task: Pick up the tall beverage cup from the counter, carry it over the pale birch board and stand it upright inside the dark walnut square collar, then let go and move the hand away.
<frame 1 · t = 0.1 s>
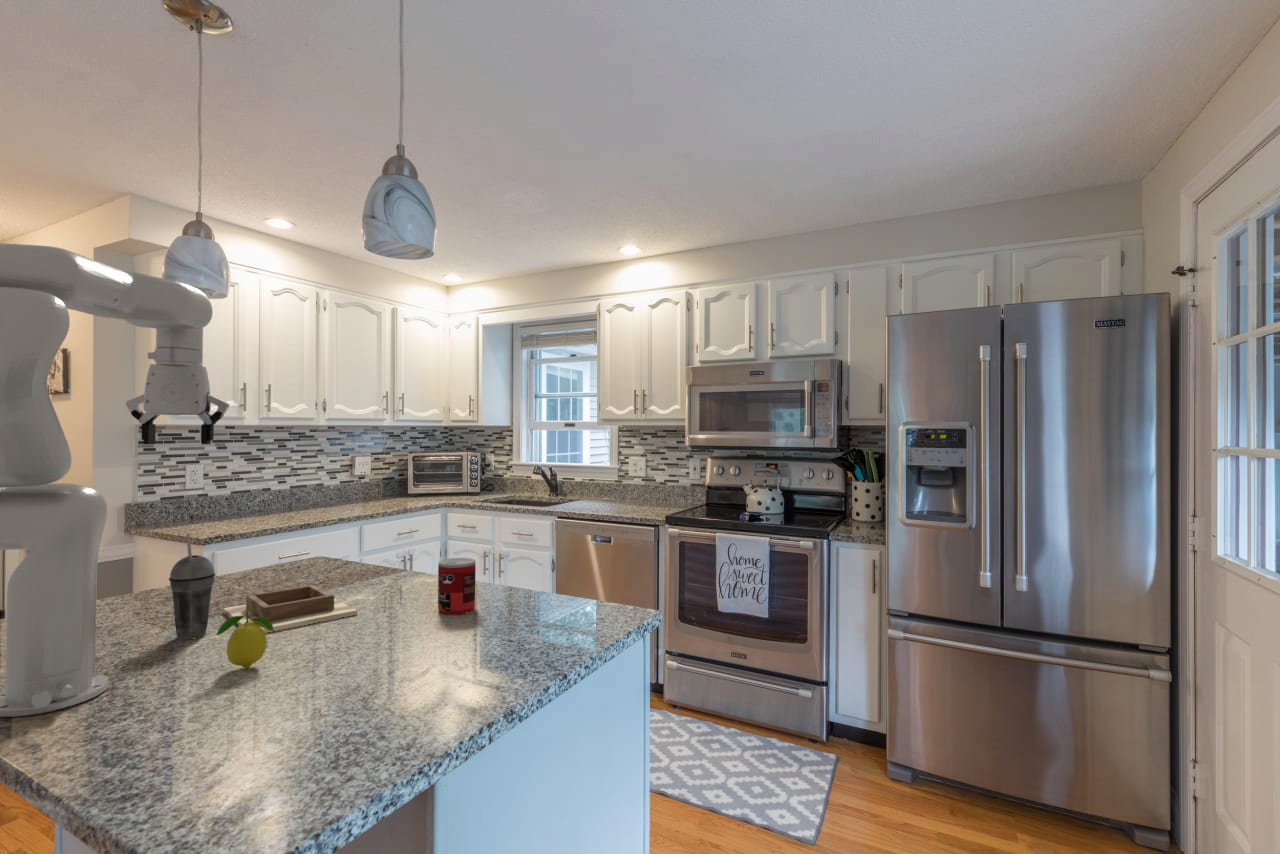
hand: (178, 444, 121), 37 cm above the counter, tool pointing down, fingers open, 9 cm apart
beverage cup: (191, 637, 116), on the counter
canned food: (456, 611, 135), on the counter
cup holder: (290, 613, 132), on the counter
lemon: (245, 670, 101), on the counter
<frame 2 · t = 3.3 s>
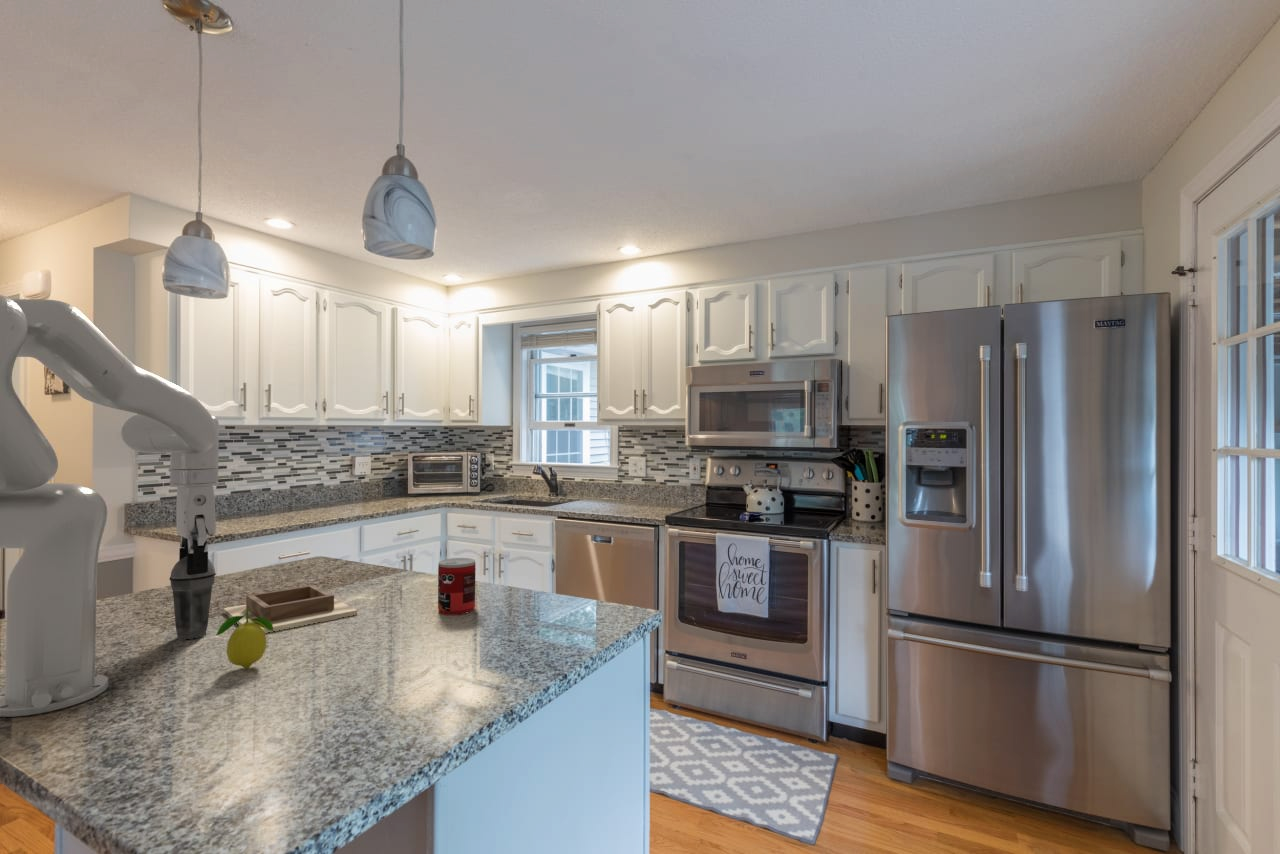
hand: (193, 569, 117), 13 cm above the counter, tool pointing down, fingers closed on beverage cup, 6 cm apart
beverage cup: (191, 637, 116), on the counter, touching gripper
everything else where it was.
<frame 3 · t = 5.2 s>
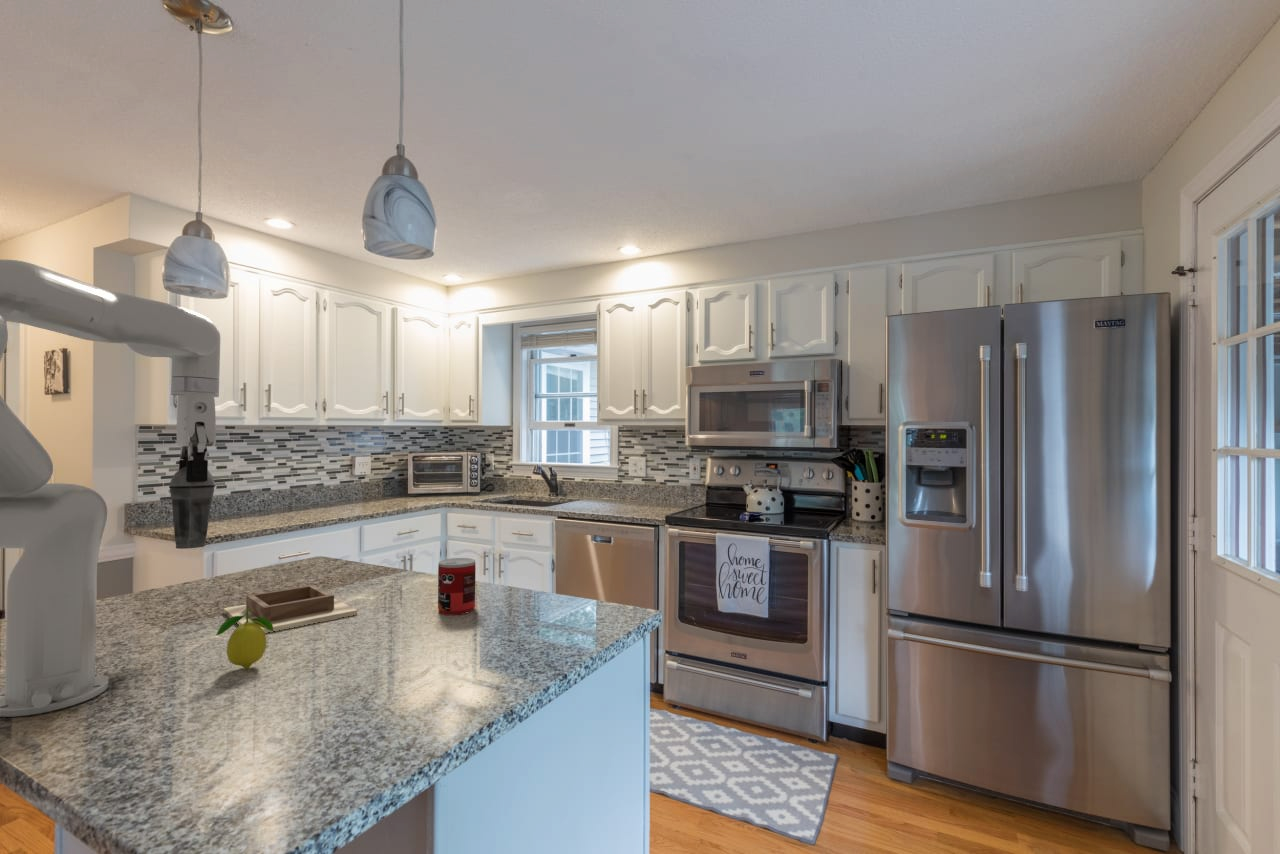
hand: (192, 480, 117), 30 cm above the counter, tool pointing down, fingers closed on beverage cup, 6 cm apart
beverage cup: (190, 547, 116), point 17 cm above the counter, touching gripper
everything else where it was.
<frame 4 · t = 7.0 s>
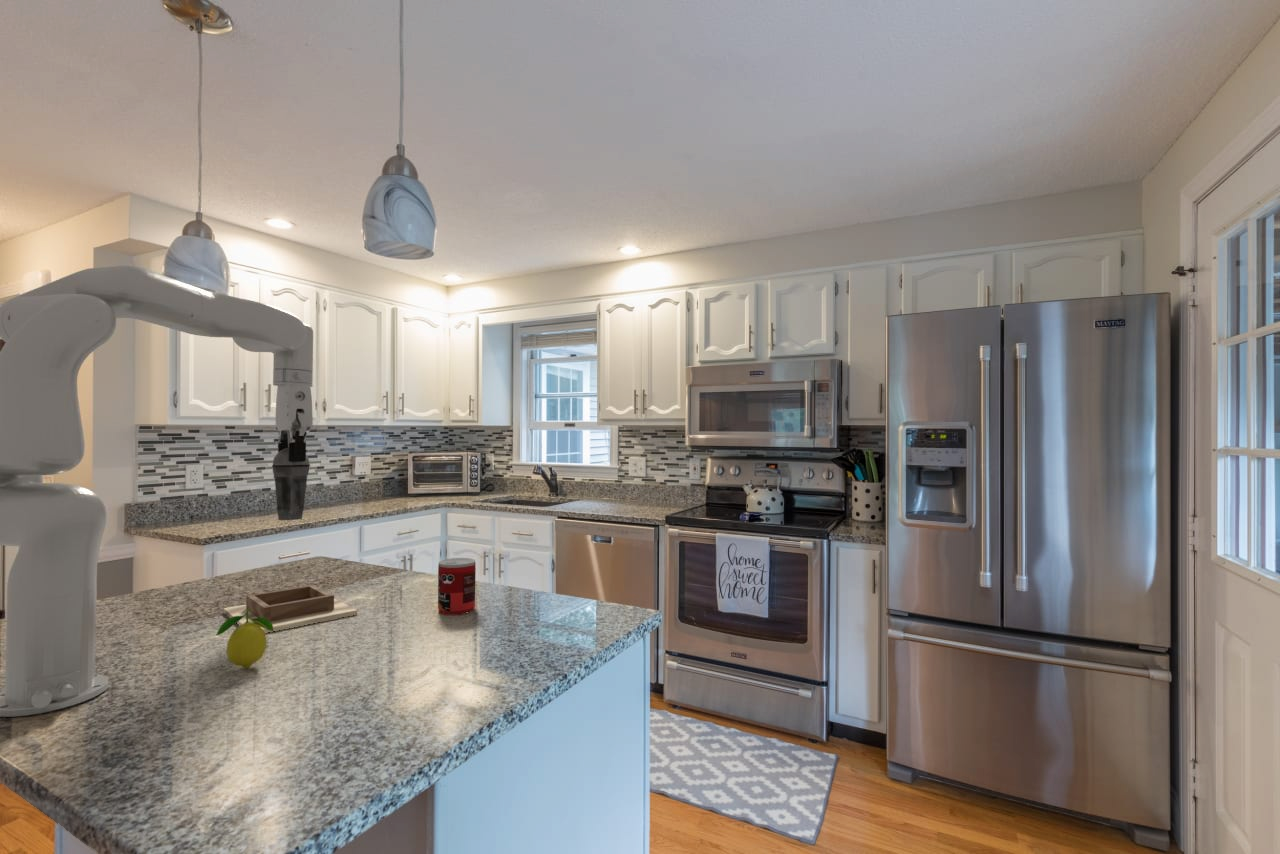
hand: (291, 460, 132), 34 cm above the counter, tool pointing down, fingers closed on beverage cup, 6 cm apart
beverage cup: (290, 519, 132), point 21 cm above the counter, touching gripper
everything else where it was.
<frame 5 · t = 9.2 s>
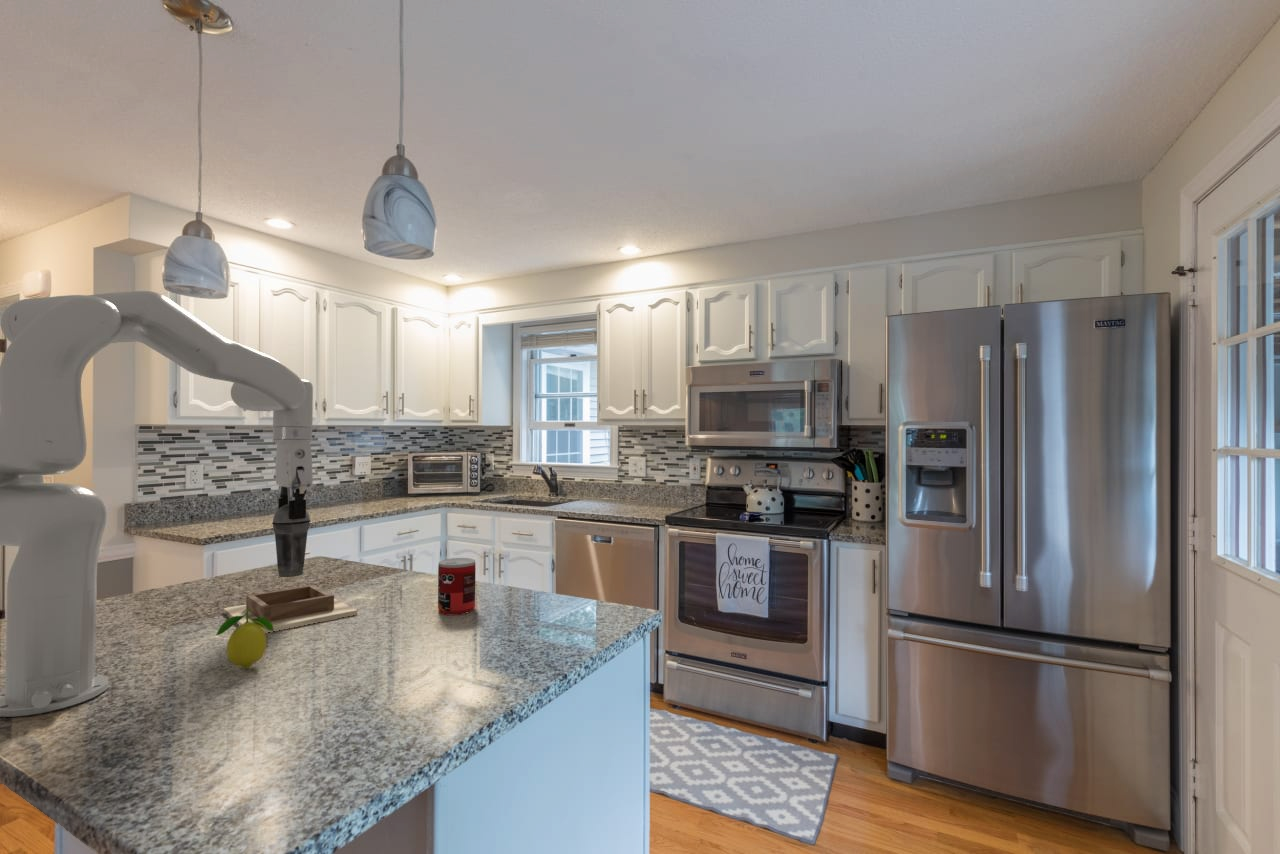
hand: (291, 516, 132), 21 cm above the counter, tool pointing down, fingers closed on beverage cup, 6 cm apart
beverage cup: (290, 575, 132), point 8 cm above the counter, touching gripper
everything else where it was.
when the fingers open (15 cm above the counter, at t = 11.0 s): beverage cup drops 1 cm, resting on cup holder.
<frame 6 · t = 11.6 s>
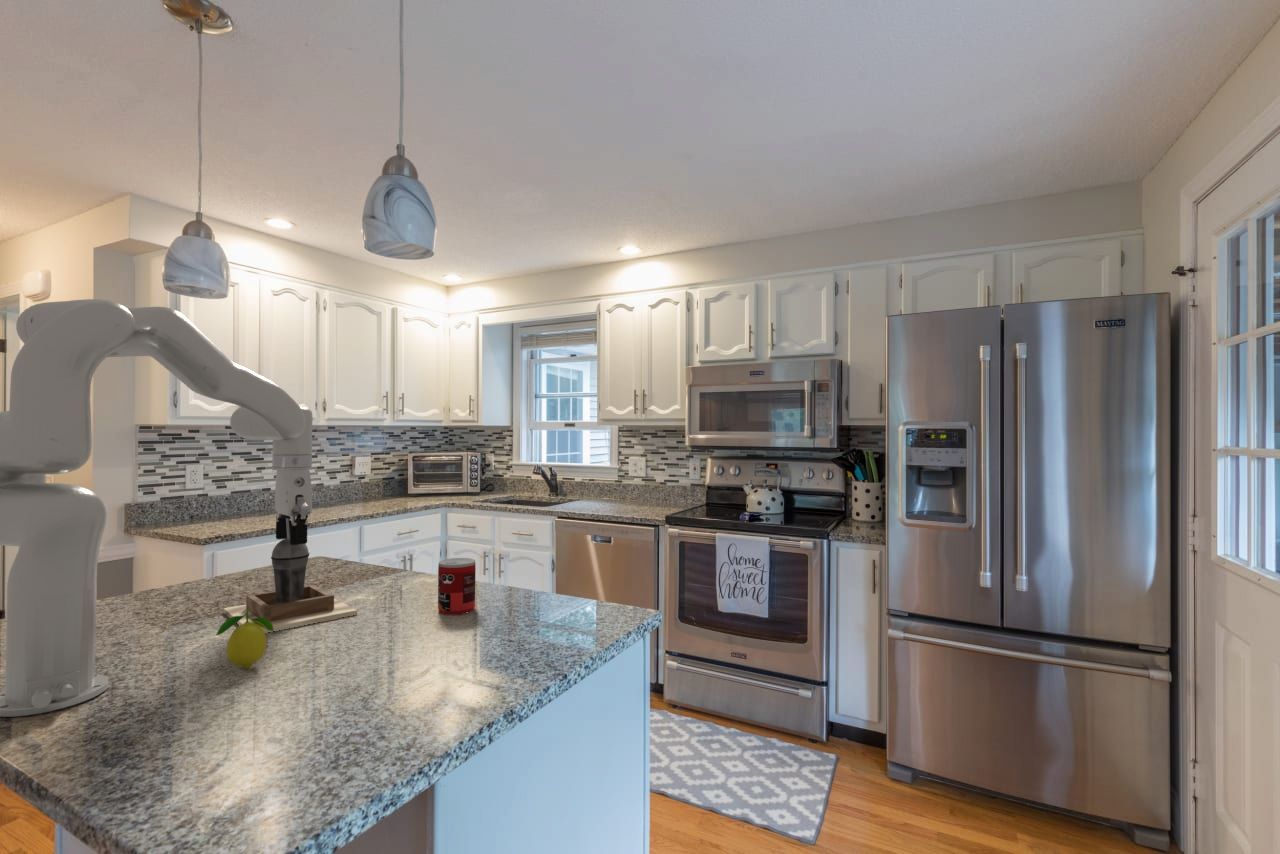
hand: (291, 541, 132), 16 cm above the counter, tool pointing down, fingers open, 9 cm apart
beverage cup: (289, 610, 131), point 1 cm above the counter, touching cup holder
everything else where it was.
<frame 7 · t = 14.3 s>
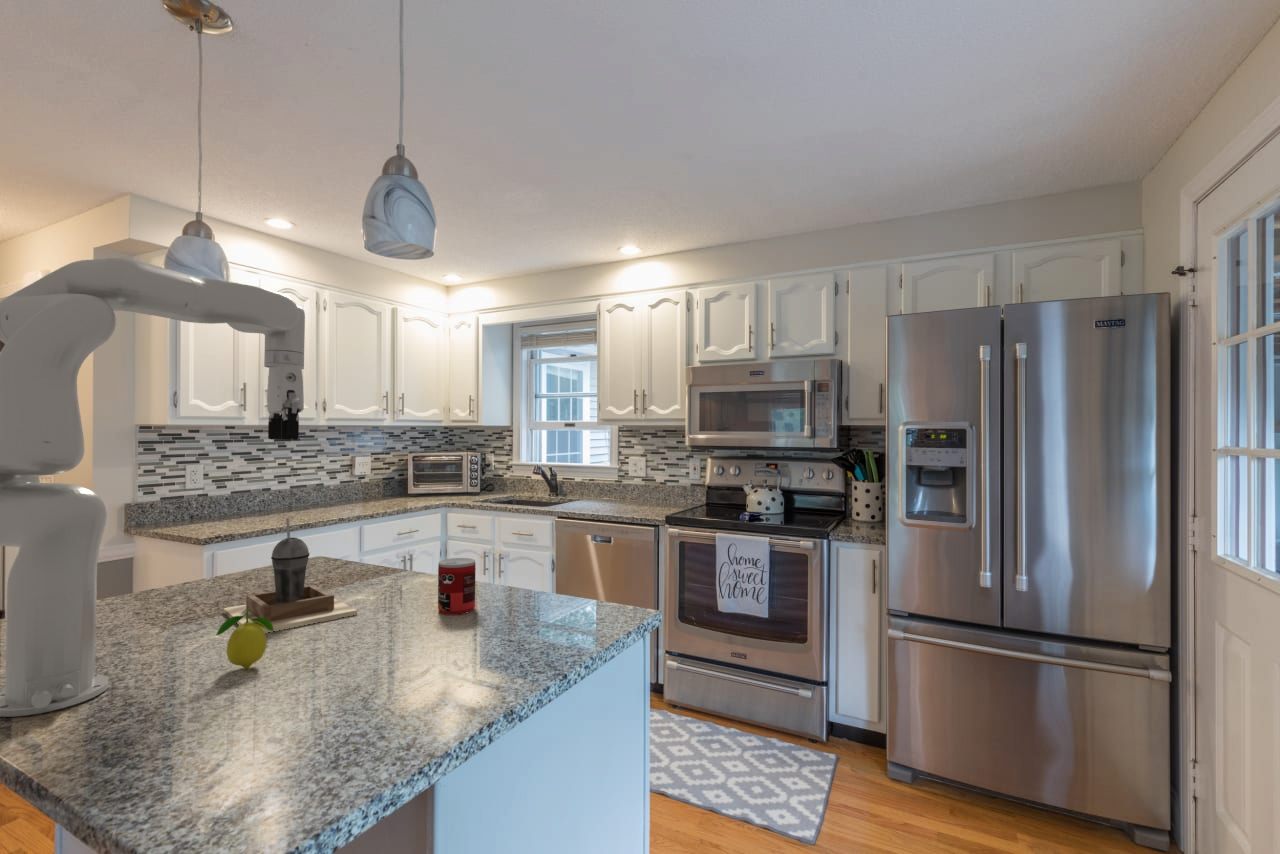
hand: (283, 439, 131), 38 cm above the counter, tool pointing down, fingers open, 9 cm apart
nothing on the counter moved.
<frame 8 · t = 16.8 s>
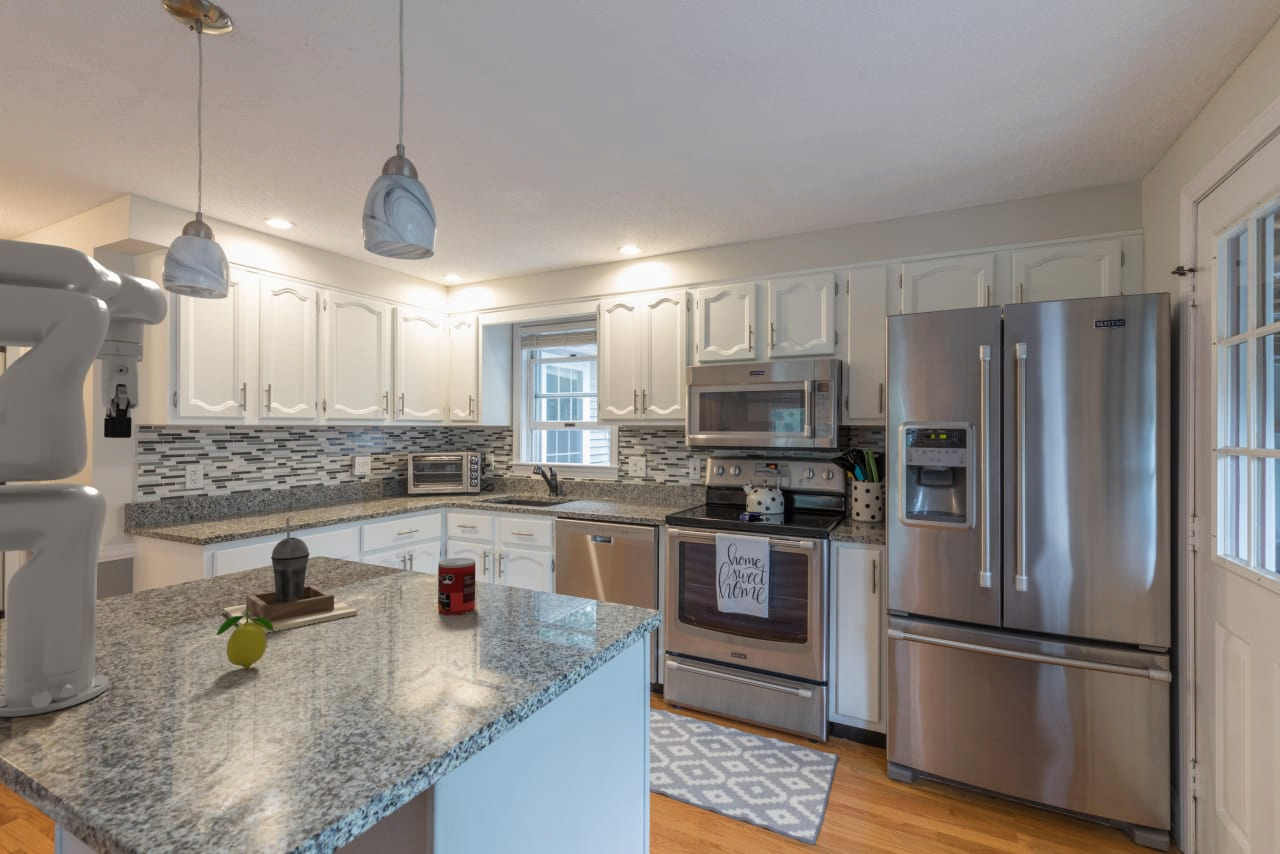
hand: (117, 437, 121), 38 cm above the counter, tool pointing down, fingers open, 9 cm apart
nothing on the counter moved.
at the end: beverage cup 0.1 cm off-centre on the cup holder, point 0.8 cm above the cup holder's base; beverage cup tilted 0°; the gripper is holding nothing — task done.
